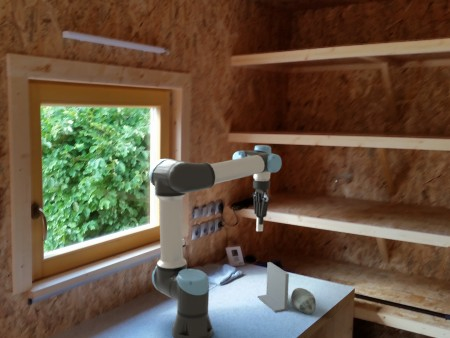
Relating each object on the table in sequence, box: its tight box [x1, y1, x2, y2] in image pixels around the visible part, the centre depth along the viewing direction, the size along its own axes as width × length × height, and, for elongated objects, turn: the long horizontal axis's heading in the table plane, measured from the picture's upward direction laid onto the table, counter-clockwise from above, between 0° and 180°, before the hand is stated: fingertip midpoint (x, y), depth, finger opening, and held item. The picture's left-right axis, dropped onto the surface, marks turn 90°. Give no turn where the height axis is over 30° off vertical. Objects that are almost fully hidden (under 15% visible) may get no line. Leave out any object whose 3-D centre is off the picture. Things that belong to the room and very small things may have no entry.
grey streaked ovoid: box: [290, 287, 317, 315], centre depth 197 cm, size 14×10×10 cm
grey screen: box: [257, 261, 290, 313], centre depth 201 cm, size 6×16×16 cm, turn 23°
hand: (259, 230), depth 211 cm, fingers closed
